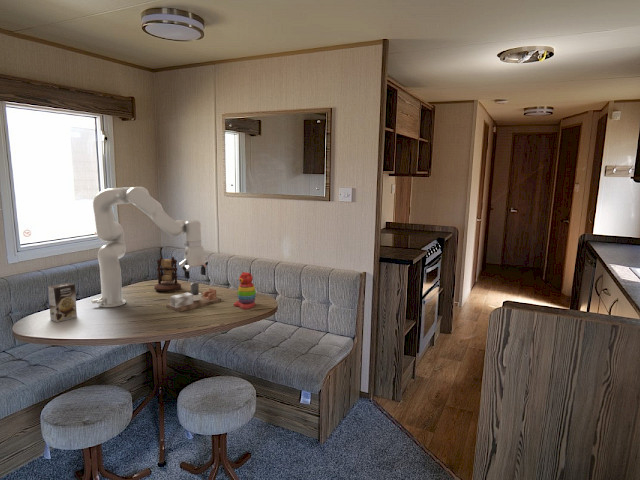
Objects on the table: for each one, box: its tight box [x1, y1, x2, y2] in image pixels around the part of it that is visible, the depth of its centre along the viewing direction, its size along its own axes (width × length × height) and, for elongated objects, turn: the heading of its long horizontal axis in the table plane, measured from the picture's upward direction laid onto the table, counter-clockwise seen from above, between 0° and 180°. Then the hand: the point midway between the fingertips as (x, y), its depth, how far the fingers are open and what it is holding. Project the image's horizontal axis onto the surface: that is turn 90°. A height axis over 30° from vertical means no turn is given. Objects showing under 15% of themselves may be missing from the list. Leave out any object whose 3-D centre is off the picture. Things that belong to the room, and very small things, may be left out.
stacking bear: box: [233, 271, 257, 310], centre depth 222 cm, size 11×10×18 cm
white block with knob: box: [190, 281, 202, 301], centre depth 221 cm, size 14×4×9 cm, turn 140°
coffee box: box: [48, 282, 78, 323], centre depth 197 cm, size 9×6×16 cm
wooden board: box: [165, 287, 222, 313], centre depth 224 cm, size 26×12×6 cm, turn 140°
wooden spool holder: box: [154, 256, 182, 293], centre depth 248 cm, size 15×15×20 cm
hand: (195, 276), depth 223 cm, fingers open, 9 cm apart
